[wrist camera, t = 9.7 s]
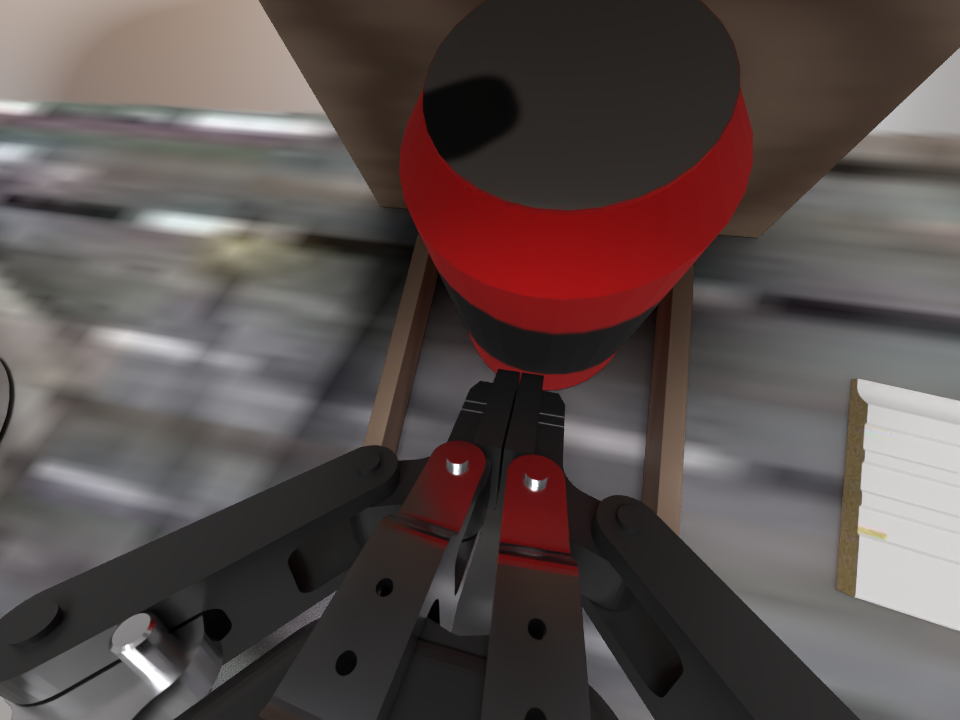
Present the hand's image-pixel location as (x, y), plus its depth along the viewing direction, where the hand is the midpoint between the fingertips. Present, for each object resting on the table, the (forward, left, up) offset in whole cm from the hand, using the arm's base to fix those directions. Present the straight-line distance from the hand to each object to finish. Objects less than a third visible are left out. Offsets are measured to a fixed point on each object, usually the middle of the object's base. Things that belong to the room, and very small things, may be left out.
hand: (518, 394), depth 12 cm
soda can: (-1, +5, -6) cm, 7 cm away
